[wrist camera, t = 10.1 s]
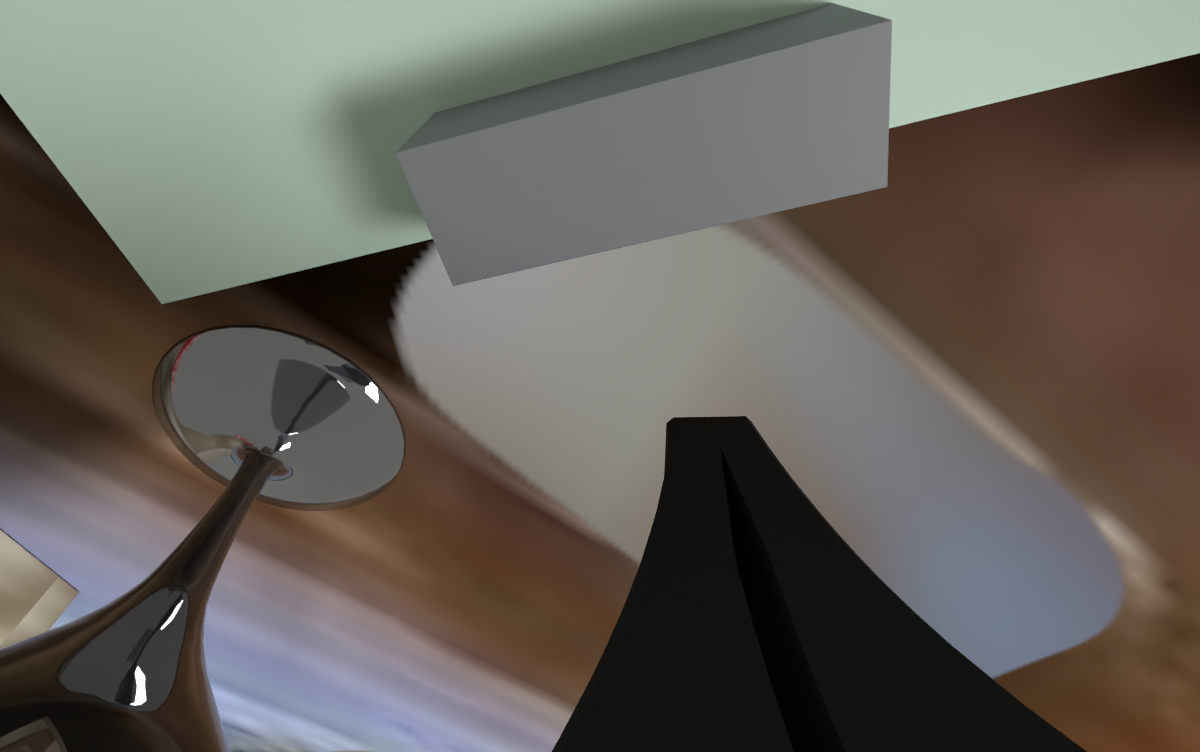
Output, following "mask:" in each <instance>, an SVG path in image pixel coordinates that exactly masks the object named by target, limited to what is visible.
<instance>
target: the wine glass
mask: <svg viewBox="0 0 1200 752" xmlns="http://www.w3.org/2000/svg"><path fill="white" fill-rule="evenodd" d="M153 394H154V405H155V408H156V411H157V415H158V418H159V421H160V422H161V424H162V426H163V428H164V430H165V432H166V434H167V436H168V437H169V438H170V439H171V441H172V442H173V443H174V445H175V446H176V447H177V449H178V450H179V451H180V452H181V453H182V454H183V455H184V456H185V457H186V458H187V459H188V460H189V461H190V462H191V463H192V464H193V465H194V466H196V467H197V468H198V469H200V470H201V471H202V472H204V473H205V474H206V475H207V476H209V477H210V478H212V479H214V480H215V481H217V482H219V483H220V484H222V485H223V486H225V487H226V489H225V490H224V491H223V493H222V494H221V495H220V497H219V498H218V499H217V501H216V502H215V503H214V505H213V506H212V507H211V508H210V510H209V511H208V512H207V513H206V514H205V516H204V517H203V518H202V519H201V520H200V522H199V523H198V524H197V525H196V526H195V527H194V528H193V530H192V531H191V532H190V533H189V534H188V535H187V536H186V537H185V538H184V540H183V541H182V542H181V543H180V544H179V545H178V546H177V547H176V548H175V549H174V550H173V551H172V553H171V554H170V555H169V556H168V557H167V558H166V559H165V560H164V561H163V562H162V563H161V564H160V565H159V566H158V567H157V568H156V569H155V570H154V571H153V572H152V573H151V574H150V575H149V576H148V577H146V578H145V579H144V580H143V581H142V582H141V583H140V584H138V585H137V586H135V587H134V588H132V589H131V590H129V591H128V592H127V593H125V594H123V595H122V596H120V597H118V598H117V599H115V600H113V601H112V602H110V603H108V604H107V605H105V606H103V607H102V608H100V609H98V610H96V611H93V612H91V613H89V614H87V615H85V616H83V617H80V618H78V619H76V620H74V621H72V622H70V623H67V624H65V625H63V626H60V627H57V628H54V629H51V630H48V631H46V632H43V633H40V634H37V635H34V636H31V637H28V638H25V639H22V640H19V641H16V642H14V643H11V644H8V645H5V646H2V647H0V752H230V748H229V745H228V742H227V738H226V735H225V732H224V729H223V725H222V722H221V719H220V715H219V712H218V709H217V705H216V702H215V699H214V695H213V692H212V688H211V685H210V682H209V678H208V675H207V668H206V660H205V652H204V644H203V638H204V621H205V614H206V607H207V603H208V600H209V597H210V594H211V591H212V588H213V586H214V583H215V581H216V579H217V576H218V574H219V571H220V569H221V566H222V564H223V562H224V560H225V558H226V555H227V553H228V551H229V549H230V547H231V544H232V542H233V540H234V538H235V536H236V534H237V532H238V530H239V528H240V526H241V524H242V522H243V520H244V518H245V516H246V515H247V513H248V511H249V510H250V508H251V506H252V504H253V503H254V501H255V500H257V501H260V502H263V503H266V504H270V505H274V506H278V507H282V508H288V509H295V510H303V511H328V510H338V509H343V508H347V507H351V506H355V505H358V504H361V503H363V502H365V501H368V500H370V499H372V498H373V497H375V496H376V495H378V494H379V493H381V492H382V491H384V490H385V489H386V488H387V487H388V486H389V485H390V484H391V483H392V482H393V481H394V480H395V478H396V476H397V474H398V473H399V471H400V469H401V467H402V463H403V460H404V456H405V436H404V432H403V427H402V423H401V421H400V419H399V416H398V414H397V412H396V410H395V408H394V406H393V404H392V403H391V402H390V400H389V399H388V397H387V396H386V394H385V393H384V392H383V390H382V389H381V388H380V387H379V386H378V385H377V384H376V383H375V382H374V381H373V380H372V379H371V378H370V377H369V376H368V375H367V374H366V373H365V372H364V371H362V370H361V369H360V368H359V367H357V366H356V365H355V364H353V363H352V362H351V361H350V360H348V359H346V358H345V357H343V356H341V355H340V354H338V353H336V352H335V351H333V350H331V349H330V348H328V347H325V346H323V345H321V344H319V343H316V342H314V341H312V340H310V339H307V338H305V337H302V336H298V335H295V334H292V333H288V332H285V331H281V330H276V329H270V328H264V327H257V326H228V327H221V328H213V329H209V330H206V331H203V332H200V333H197V334H194V335H191V336H190V337H188V338H186V339H184V340H183V341H181V342H179V343H178V344H176V345H175V346H174V347H173V348H172V349H171V350H170V351H169V352H168V353H167V354H166V355H165V356H164V358H163V360H162V361H161V363H160V365H159V367H158V369H157V371H156V376H155V381H154V386H153Z"/></svg>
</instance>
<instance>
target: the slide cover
mask: <svg viewBox="0 0 1200 752" xmlns="http://www.w3.org/2000/svg"><path fill="white" fill-rule="evenodd" d="M1198 53H1200V0H0V94H1V95H2V96H3V98H4V99H5V100H6V102H7V103H8V104H9V105H10V107H11V108H12V109H13V111H14V112H15V113H16V115H17V116H18V117H19V119H20V120H21V121H22V122H23V124H24V125H25V126H26V128H27V129H28V130H29V132H30V133H31V134H32V135H33V137H34V138H35V139H36V141H37V142H38V143H39V145H40V146H41V147H42V149H43V150H44V151H45V152H46V154H47V155H48V156H49V158H50V159H51V160H52V162H53V163H54V164H55V165H56V167H57V168H58V169H59V171H60V172H61V173H62V175H63V176H64V177H65V179H66V180H67V181H68V182H69V184H70V185H71V186H72V188H73V189H74V190H75V192H76V193H77V194H78V195H79V197H80V198H81V199H82V201H83V202H84V203H85V205H86V206H87V207H88V209H89V210H90V211H91V212H92V214H93V215H94V216H95V218H96V219H97V220H98V222H99V223H100V224H101V225H102V227H103V228H104V229H105V231H106V232H107V233H108V235H109V236H110V237H111V239H112V240H113V241H114V242H115V244H116V245H117V246H118V248H119V249H120V250H121V252H122V253H123V254H124V255H125V257H126V258H127V259H128V261H129V262H130V263H131V265H132V266H133V267H134V269H135V270H136V271H137V272H138V274H139V275H140V276H141V278H142V279H143V280H144V282H145V283H146V284H147V285H148V287H149V288H150V289H151V291H152V292H153V293H154V295H155V296H156V297H157V299H158V300H159V301H160V302H161V304H165V303H169V302H173V301H177V300H181V299H186V298H190V297H194V296H198V295H202V294H206V293H210V292H215V291H219V290H223V289H227V288H231V287H235V286H239V285H243V284H248V283H252V282H256V281H260V280H264V279H268V278H272V277H277V276H281V275H285V274H289V273H293V272H297V271H301V270H305V269H310V268H314V267H318V266H322V265H326V264H330V263H334V262H339V261H343V260H347V259H351V258H355V257H359V256H363V255H367V254H372V253H376V252H380V251H384V250H388V249H392V248H396V247H401V246H405V245H409V244H413V243H417V242H421V241H425V240H430V239H433V241H434V243H435V245H436V248H437V250H438V252H439V254H440V257H441V259H442V261H443V264H444V266H445V268H446V271H447V273H448V275H449V277H450V280H451V282H452V284H453V285H454V286H455V285H459V284H463V283H468V282H472V281H476V280H481V279H485V278H490V277H494V276H498V275H503V274H507V273H512V272H516V271H520V270H524V269H529V268H534V267H538V266H542V265H547V264H551V263H555V262H560V261H564V260H569V259H573V258H577V257H582V256H586V255H591V254H595V253H599V252H604V251H608V250H612V249H617V248H621V247H625V246H630V245H634V244H638V243H643V242H648V241H652V240H656V239H661V238H665V237H669V236H674V235H678V234H683V233H687V232H691V231H696V230H700V229H704V228H709V227H713V226H718V225H722V224H726V223H731V222H735V221H740V220H744V219H748V218H753V217H757V216H761V215H766V214H770V213H775V212H779V211H783V210H788V209H792V208H797V207H801V206H805V205H810V204H814V203H818V202H823V201H827V200H832V199H836V198H840V197H845V196H849V195H854V194H858V193H862V192H867V191H871V190H875V189H880V188H884V187H887V176H888V142H889V128H892V127H897V126H901V125H905V124H909V123H913V122H917V121H921V120H926V119H930V118H934V117H938V116H942V115H946V114H950V113H954V112H959V111H963V110H967V109H971V108H975V107H979V106H983V105H988V104H992V103H996V102H1000V101H1004V100H1008V99H1012V98H1016V97H1021V96H1025V95H1029V94H1033V93H1037V92H1041V91H1045V90H1050V89H1054V88H1058V87H1062V86H1066V85H1070V84H1074V83H1078V82H1083V81H1087V80H1091V79H1095V78H1099V77H1103V76H1107V75H1112V74H1116V73H1120V72H1124V71H1128V70H1132V69H1136V68H1140V67H1145V66H1149V65H1153V64H1157V63H1161V62H1165V61H1169V60H1174V59H1178V58H1182V57H1186V56H1190V55H1194V54H1198Z"/></svg>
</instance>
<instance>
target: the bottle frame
mask: <svg viewBox="0 0 1200 752" xmlns="http://www.w3.org/2000/svg"><path fill="white" fill-rule="evenodd" d="M78 593H79V592H78V591H76V590H75V589H74V588H73V587H71V586H70V585H69V584H68V583H66V582H65V581H64V580H63V579H61V578H60V577H59V576H58V575H56V574H55V573H54V572H53V571H51V570H50V569H49V568H48V567H46V566H45V565H44V564H42V563H41V562H40V561H39V560H37V559H36V558H35V557H34V556H32V555H31V554H30V553H29V552H27V551H26V550H25V549H24V548H22V547H21V546H20V545H19V544H17V543H16V542H15V541H14V540H12V539H11V538H10V537H9V536H7V535H6V534H5V533H3V532H2V531H1V530H0V647H2V646H5V645H8V644H11V643H14V642H16V641H19V640H22V639H25V638H28V637H31V636H34V635H37V634H40V633H43V632H46V631H48V630H49V629H50V628H51V627H52V625H53V624H54V623H55V622H56V620H57V619H58V618H59V617H60V615H61V614H62V613H63V612H64V610H65V609H66V608H67V607H68V605H69V604H70V603H71V602H72V601H73V599H74V598H75V597H76V596H77V594H78Z"/></svg>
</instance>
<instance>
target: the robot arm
mask: <svg viewBox="0 0 1200 752" xmlns="http://www.w3.org/2000/svg"><path fill="white" fill-rule="evenodd" d="M664 474H665V475H664V481H663V485H662V489H661V494H660V499H659V503H658V507H657V511H656V515H655V519H654V522H653V525H652V528H651V532H650V535H649V538H648V541H647V545H646V548H645V551H644V555H643V557H642V560H641V563H640V566H639V569H638V571H637V574H636V577H635V579H634V582H633V585H632V587H631V590H630V592H629V595H628V597H627V600H626V602H625V605H624V607H623V610H622V612H621V615H620V617H619V619H618V621H617V624H616V626H615V628H614V630H613V633H612V635H611V637H610V639H609V642H608V644H607V646H606V648H605V650H604V653H603V655H602V657H601V659H600V661H599V663H598V665H597V667H596V669H595V671H594V673H593V675H592V677H591V680H590V681H589V683H588V685H587V687H586V689H585V691H584V693H583V695H582V697H581V698H580V700H579V702H578V704H577V706H576V708H575V710H574V712H573V714H572V715H571V717H570V719H569V721H568V723H567V725H566V727H565V729H564V731H563V732H562V734H561V736H560V738H559V740H558V742H557V743H556V745H555V747H554V749H553V750H552V752H1086V751H1085V750H1084V749H1082V748H1081V747H1080V746H1078V745H1077V744H1076V743H1074V742H1073V741H1072V740H1070V739H1069V738H1068V737H1066V736H1065V735H1064V734H1062V733H1061V732H1060V731H1058V730H1057V729H1056V728H1054V727H1053V726H1052V725H1050V724H1049V723H1048V722H1046V721H1045V720H1043V719H1042V718H1041V717H1039V716H1038V715H1037V714H1035V713H1034V712H1033V711H1031V710H1030V709H1029V708H1027V707H1026V706H1025V705H1024V704H1022V703H1021V702H1020V701H1019V700H1017V699H1016V698H1015V697H1014V696H1013V695H1011V694H1010V693H1009V692H1008V691H1006V690H1005V689H1004V688H1003V687H1002V686H1000V685H999V684H998V683H997V682H995V681H994V680H993V679H992V678H991V677H989V676H988V675H987V674H986V673H984V672H983V671H982V670H981V669H979V668H978V667H977V666H976V665H975V664H973V663H972V662H971V661H970V660H968V659H967V658H966V657H965V656H964V655H962V654H961V653H960V652H959V651H958V650H956V649H955V648H954V647H953V646H951V645H950V644H949V643H948V642H947V641H946V640H945V639H944V638H943V637H941V636H940V635H939V634H938V633H937V632H936V631H935V630H934V629H933V628H932V627H930V626H929V625H928V624H927V623H926V622H925V621H924V620H923V619H922V618H920V617H919V616H918V615H917V614H916V613H915V612H914V611H913V610H912V609H911V608H910V607H908V605H906V603H904V602H903V601H902V600H901V599H900V598H899V597H898V596H897V595H896V594H895V593H894V592H893V591H892V590H891V589H890V588H889V587H888V586H887V585H886V584H885V583H884V582H883V581H882V580H881V579H879V577H878V576H877V575H876V574H875V573H874V572H873V571H872V570H871V569H870V568H869V567H868V566H867V565H866V564H865V563H864V562H863V561H862V560H861V558H859V556H858V555H857V554H856V553H855V552H854V551H853V550H852V549H851V548H850V547H849V545H848V544H847V543H846V542H845V541H844V540H843V539H842V538H841V537H840V536H839V535H838V533H837V532H836V531H835V530H834V529H833V528H832V526H831V525H830V524H829V523H828V522H827V521H826V519H825V518H824V517H823V516H822V515H821V514H820V512H819V511H818V510H817V509H816V507H815V506H814V505H813V504H812V503H811V501H810V500H809V499H808V498H807V496H806V495H805V494H804V493H803V492H802V490H801V489H800V488H799V487H798V485H797V484H796V483H795V482H794V480H793V479H792V478H791V476H790V475H789V474H788V472H787V471H786V470H785V468H784V467H783V466H782V465H781V463H780V462H779V460H778V459H777V458H776V456H775V455H774V454H773V452H772V451H771V449H770V448H769V447H768V445H767V444H766V442H765V441H764V440H763V438H762V437H761V435H760V434H759V432H758V431H757V429H756V428H755V427H754V425H753V424H752V422H751V421H750V420H749V419H748V418H747V417H746V416H738V417H687V418H685V417H683V418H673V419H671V420H670V421H669V422H667V427H666V450H665V473H664Z"/></svg>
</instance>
